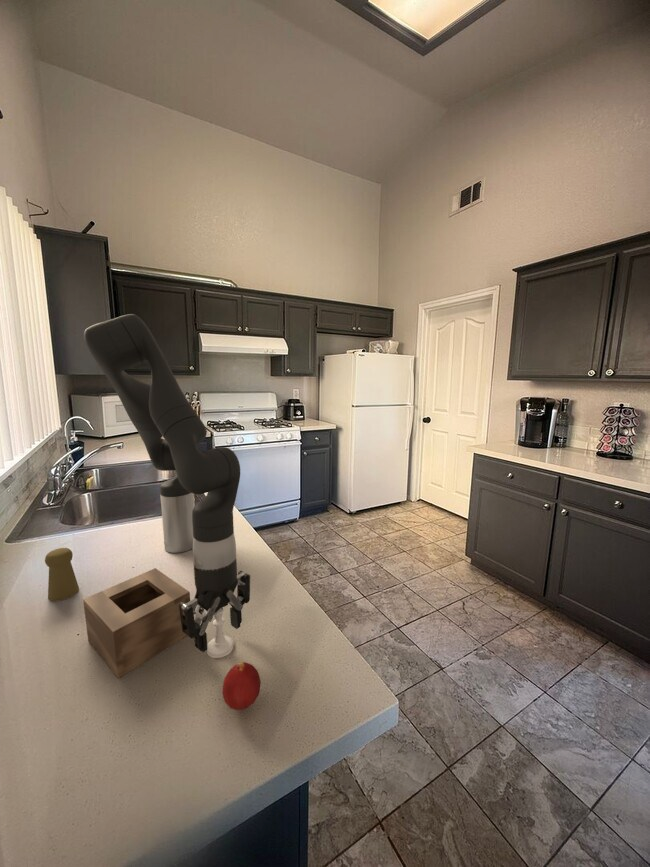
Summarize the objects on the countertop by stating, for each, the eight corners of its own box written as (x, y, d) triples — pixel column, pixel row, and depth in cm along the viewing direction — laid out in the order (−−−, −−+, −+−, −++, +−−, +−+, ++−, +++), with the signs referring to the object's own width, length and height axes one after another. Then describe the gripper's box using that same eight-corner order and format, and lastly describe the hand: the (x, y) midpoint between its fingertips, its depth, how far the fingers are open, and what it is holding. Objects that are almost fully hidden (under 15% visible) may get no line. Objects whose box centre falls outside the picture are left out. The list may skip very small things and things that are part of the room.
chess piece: (238, 642, 68) (236, 595, 67) (223, 661, 64) (220, 612, 62) (217, 635, 70) (214, 590, 68) (201, 654, 65) (197, 606, 64)
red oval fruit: (227, 691, 58) (225, 648, 56) (262, 688, 58) (261, 646, 57) (220, 726, 52) (217, 679, 51) (259, 723, 52) (257, 676, 51)
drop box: (158, 604, 79) (155, 568, 78) (192, 632, 71) (189, 591, 69) (88, 640, 69) (83, 599, 67) (118, 678, 60) (113, 631, 59)
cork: (62, 602, 80) (56, 558, 78) (41, 599, 81) (34, 555, 79) (85, 587, 86) (80, 545, 84) (65, 584, 87) (59, 543, 85)
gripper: (234, 537, 72) (237, 609, 74) (166, 566, 60) (173, 651, 63) (258, 548, 67) (261, 625, 70) (190, 582, 56) (196, 672, 59)
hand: (219, 637), depth 66 cm, fingers open, 7 cm apart
